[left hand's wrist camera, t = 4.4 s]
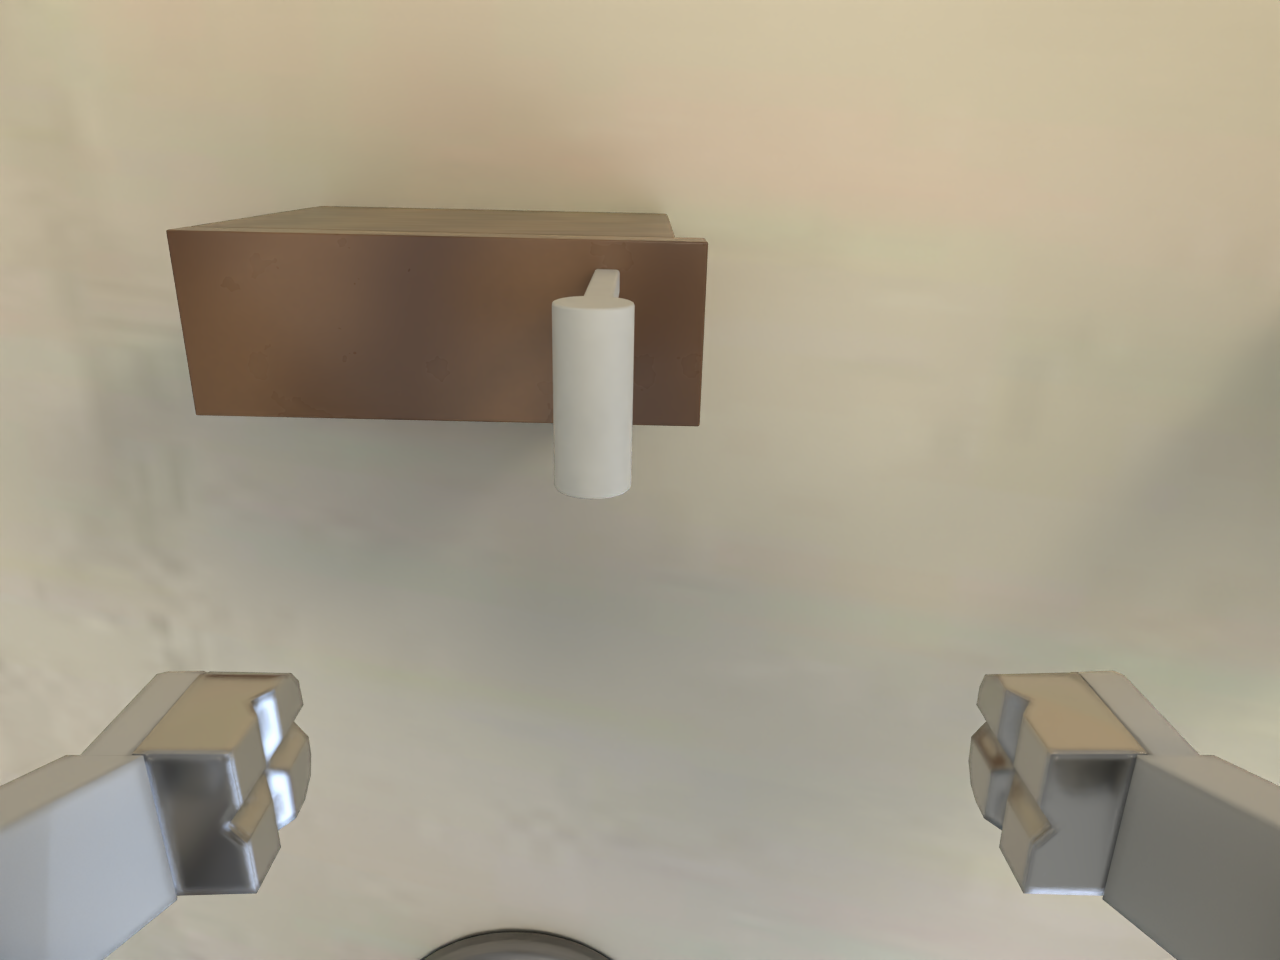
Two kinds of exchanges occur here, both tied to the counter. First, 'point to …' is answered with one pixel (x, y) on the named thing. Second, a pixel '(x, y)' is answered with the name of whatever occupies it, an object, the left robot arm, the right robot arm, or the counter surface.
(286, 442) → the counter surface
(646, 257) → the door
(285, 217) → the chest
